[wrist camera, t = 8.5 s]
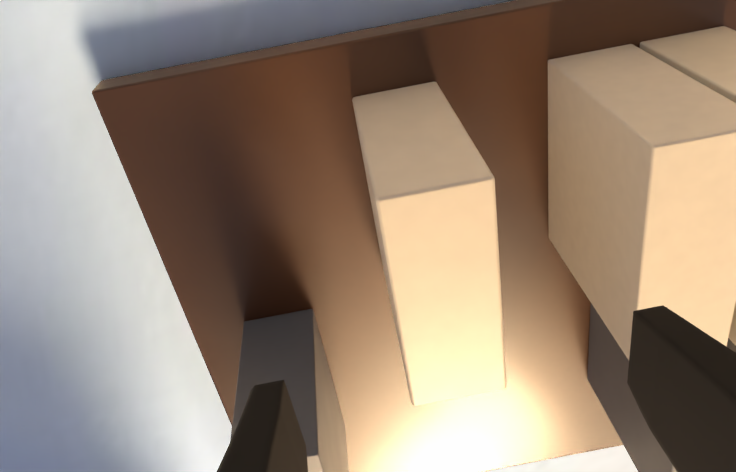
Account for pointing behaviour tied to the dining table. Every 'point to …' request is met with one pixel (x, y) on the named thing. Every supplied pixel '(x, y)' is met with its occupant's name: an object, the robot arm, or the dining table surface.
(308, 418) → the grey block pair
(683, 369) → the robot arm
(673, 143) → the cream block
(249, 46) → the dining table surface
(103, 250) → the dining table surface
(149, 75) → the shelf board
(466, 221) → the tan wooden block
